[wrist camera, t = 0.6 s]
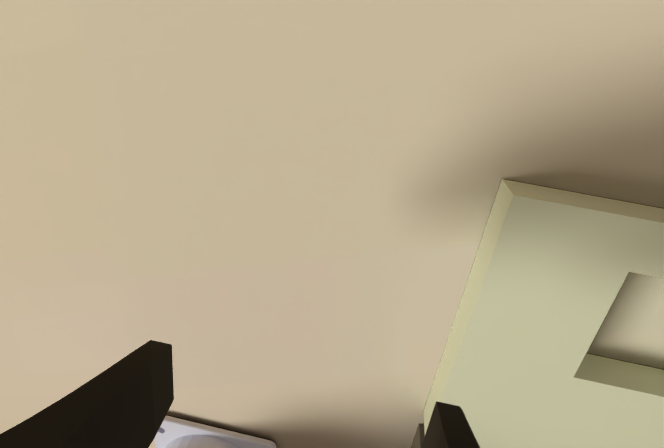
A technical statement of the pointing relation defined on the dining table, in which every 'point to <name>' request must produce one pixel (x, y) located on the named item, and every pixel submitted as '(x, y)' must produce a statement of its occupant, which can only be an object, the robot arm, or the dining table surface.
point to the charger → (418, 437)
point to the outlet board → (552, 325)
